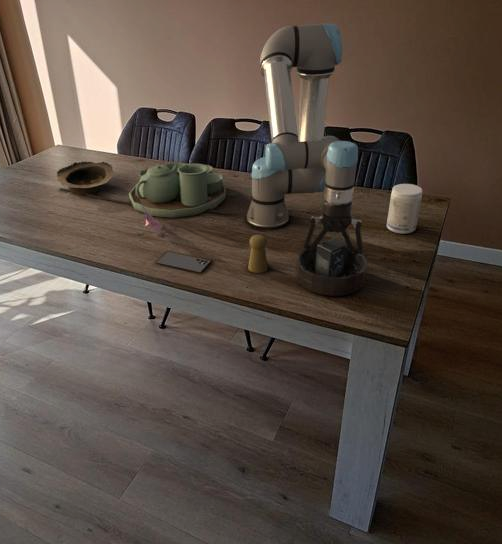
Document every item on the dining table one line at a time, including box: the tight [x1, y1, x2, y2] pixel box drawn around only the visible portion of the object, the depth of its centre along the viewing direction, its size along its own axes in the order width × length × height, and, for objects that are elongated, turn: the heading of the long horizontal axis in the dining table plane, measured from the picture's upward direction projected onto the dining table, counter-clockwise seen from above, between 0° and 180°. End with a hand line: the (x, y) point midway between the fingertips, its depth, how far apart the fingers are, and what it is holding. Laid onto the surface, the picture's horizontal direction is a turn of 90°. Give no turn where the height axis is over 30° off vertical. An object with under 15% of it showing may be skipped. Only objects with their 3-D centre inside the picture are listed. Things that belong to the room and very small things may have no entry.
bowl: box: [295, 247, 368, 297], centre depth 148 cm, size 20×20×6 cm
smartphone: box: [156, 251, 211, 273], centre depth 163 cm, size 8×1×16 cm
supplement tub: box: [386, 183, 423, 235], centre depth 170 cm, size 10×10×15 cm
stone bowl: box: [56, 161, 115, 196], centre depth 221 cm, size 25×25×9 cm
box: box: [314, 236, 349, 277], centre depth 146 cm, size 8×6×11 cm
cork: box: [247, 234, 269, 274], centre depth 155 cm, size 6×6×11 cm
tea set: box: [128, 162, 227, 218], centre depth 204 cm, size 40×40×16 cm
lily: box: [140, 206, 163, 236], centre depth 181 cm, size 12×12×10 cm
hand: (330, 270), depth 148 cm, fingers closed on box, 9 cm apart
